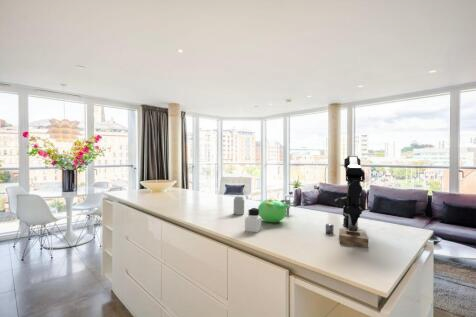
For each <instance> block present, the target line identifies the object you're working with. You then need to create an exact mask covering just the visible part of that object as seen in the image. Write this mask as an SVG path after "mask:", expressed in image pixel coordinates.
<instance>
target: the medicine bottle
mask: <svg viewBox="0 0 476 317" xmlns="http://www.w3.org/2000/svg"><path fill="white" fill-rule="evenodd" d="M260 230H262V219H261V217H260V216H259V209H258V207H257V208H256V207H250V208H247V216H246V217H245V219H244V231H245V232H249V233H258V232H259V231H260Z"/></svg>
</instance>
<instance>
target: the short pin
mask: <svg viewBox="0 0 476 317" xmlns="http://www.w3.org/2000/svg"><path fill="white" fill-rule="evenodd" d="M334 228H335V227H334V224H332V223H325V234H326V235H334Z"/></svg>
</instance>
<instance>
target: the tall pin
mask: <svg viewBox="0 0 476 317" xmlns="http://www.w3.org/2000/svg"><path fill="white" fill-rule="evenodd" d="M358 223H359V219H358V220H357V222H356V224H355V226H352V222H351V217H350V215H349V228H348V230H349V231H354V232H356V231H359V229H358V228H359V226H358Z"/></svg>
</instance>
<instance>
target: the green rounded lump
mask: <svg viewBox="0 0 476 317" xmlns="http://www.w3.org/2000/svg"><path fill="white" fill-rule="evenodd" d="M290 205H291V204H290ZM290 205H284V204H283V203H282V202H281V200H278V199H275V198H274V197H270V198H268V199H266V200H263V201H262V202H261V203H260V204H258V207H257V209H259V217H261V220H262V221H265V222H268V223H278V222H281V221H282V220H284V219H285V217H286V215H287V208H289V207H290V208H291V206H290ZM290 208H289V209H290Z"/></svg>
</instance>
